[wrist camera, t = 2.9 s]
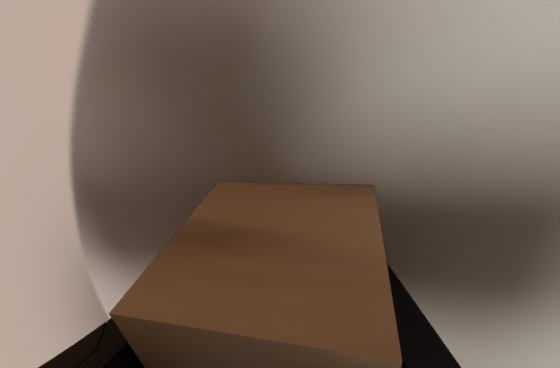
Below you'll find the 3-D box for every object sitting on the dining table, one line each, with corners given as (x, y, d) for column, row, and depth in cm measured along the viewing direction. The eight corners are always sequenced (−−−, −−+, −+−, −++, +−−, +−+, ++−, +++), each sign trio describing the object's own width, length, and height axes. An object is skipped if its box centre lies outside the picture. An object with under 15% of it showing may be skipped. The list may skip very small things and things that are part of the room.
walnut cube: (364, 295, 10) (375, 478, 6) (243, 281, 12) (184, 427, 7) (374, 183, 8) (402, 362, 4) (219, 180, 9) (109, 313, 5)
